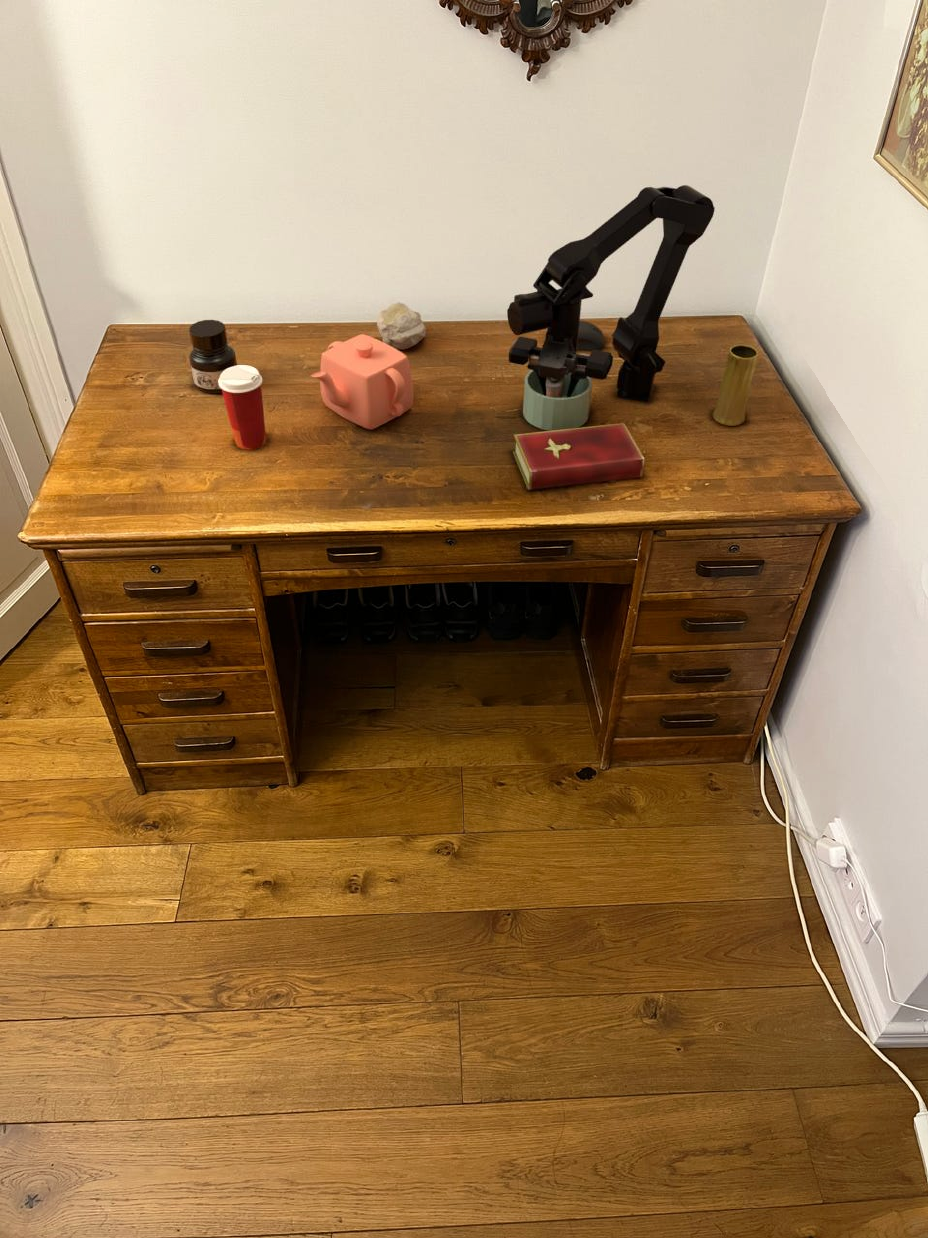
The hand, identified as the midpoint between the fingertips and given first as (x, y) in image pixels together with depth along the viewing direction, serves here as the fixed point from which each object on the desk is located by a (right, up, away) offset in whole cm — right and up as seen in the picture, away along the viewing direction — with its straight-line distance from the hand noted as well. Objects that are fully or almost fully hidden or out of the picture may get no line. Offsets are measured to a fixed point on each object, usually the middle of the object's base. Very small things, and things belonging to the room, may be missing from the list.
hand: (557, 397), depth 189 cm
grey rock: (-31, +16, +21) cm, 41 cm away
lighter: (0, -2, +2) cm, 3 cm away
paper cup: (-58, -10, -5) cm, 59 cm away
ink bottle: (-68, +5, +9) cm, 68 cm away
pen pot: (0, -2, +2) cm, 4 cm away
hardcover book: (+3, -15, -10) cm, 18 cm away
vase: (+33, -4, +2) cm, 34 cm away
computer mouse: (+6, +17, +22) cm, 29 cm away
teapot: (-39, -3, +1) cm, 39 cm away
